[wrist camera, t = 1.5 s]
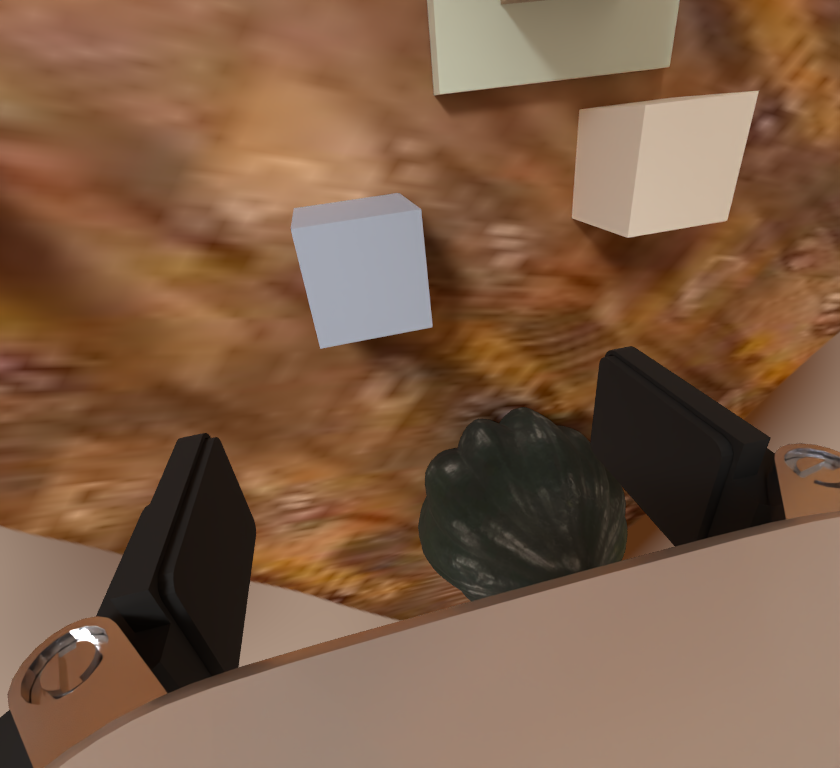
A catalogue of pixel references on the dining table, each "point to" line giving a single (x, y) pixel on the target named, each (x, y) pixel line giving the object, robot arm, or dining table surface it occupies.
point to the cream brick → (660, 162)
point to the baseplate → (545, 40)
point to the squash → (519, 506)
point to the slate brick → (363, 268)
